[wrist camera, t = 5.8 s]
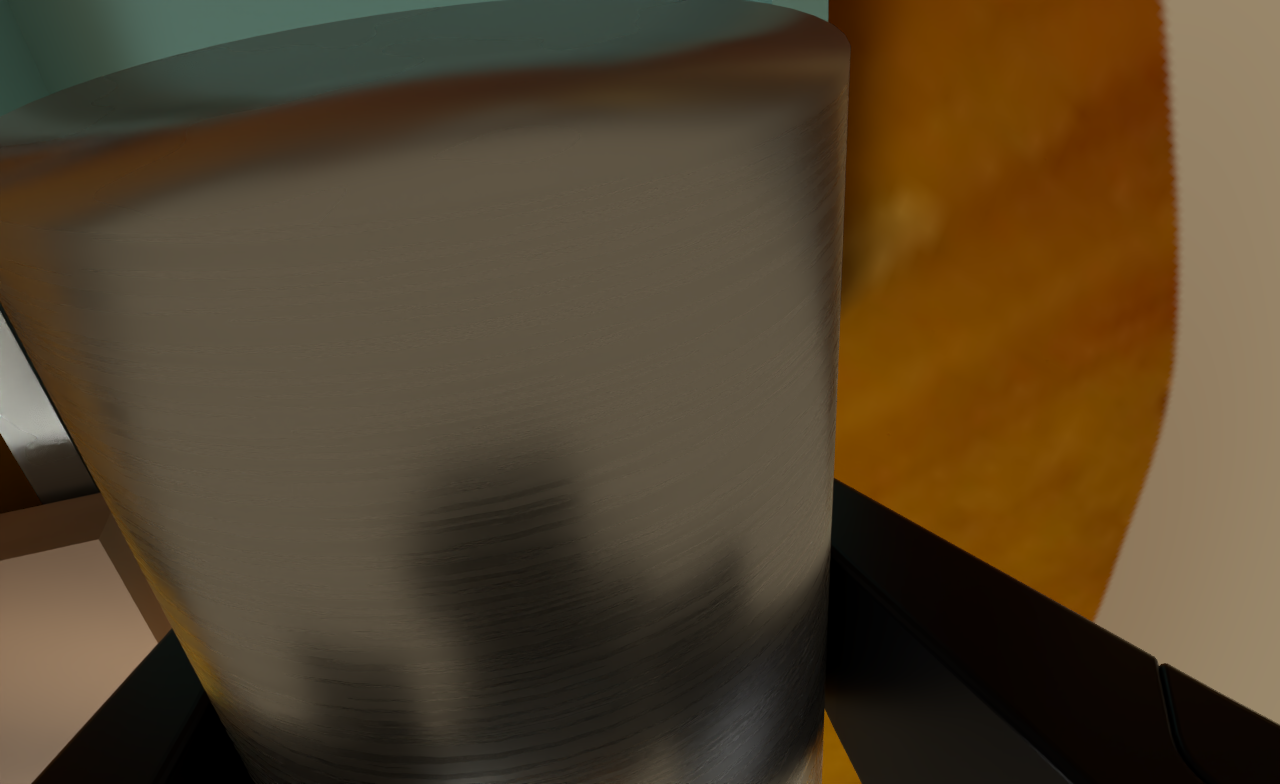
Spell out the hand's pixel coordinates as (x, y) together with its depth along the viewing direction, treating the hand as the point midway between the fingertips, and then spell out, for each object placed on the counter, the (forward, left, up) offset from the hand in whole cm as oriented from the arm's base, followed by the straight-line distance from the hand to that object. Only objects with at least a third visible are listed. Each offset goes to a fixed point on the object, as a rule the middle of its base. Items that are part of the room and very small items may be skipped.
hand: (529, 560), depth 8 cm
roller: (0, 0, +1) cm, 1 cm away
